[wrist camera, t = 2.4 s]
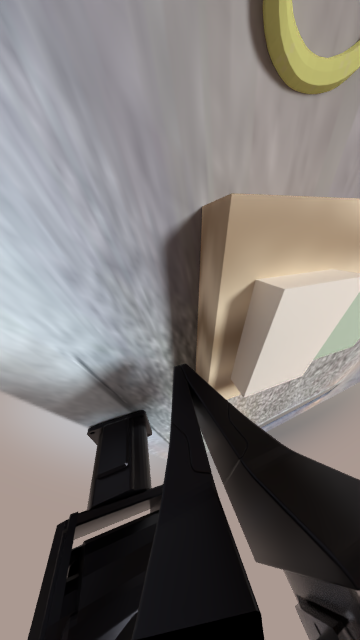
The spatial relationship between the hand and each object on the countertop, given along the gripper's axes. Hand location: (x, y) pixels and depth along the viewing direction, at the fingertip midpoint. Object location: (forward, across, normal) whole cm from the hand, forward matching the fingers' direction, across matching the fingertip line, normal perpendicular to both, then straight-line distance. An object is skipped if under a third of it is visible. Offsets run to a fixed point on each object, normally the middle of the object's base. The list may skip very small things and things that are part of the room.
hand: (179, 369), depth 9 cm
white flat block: (+1, -9, 0) cm, 9 cm away
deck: (+4, -10, 0) cm, 11 cm away
